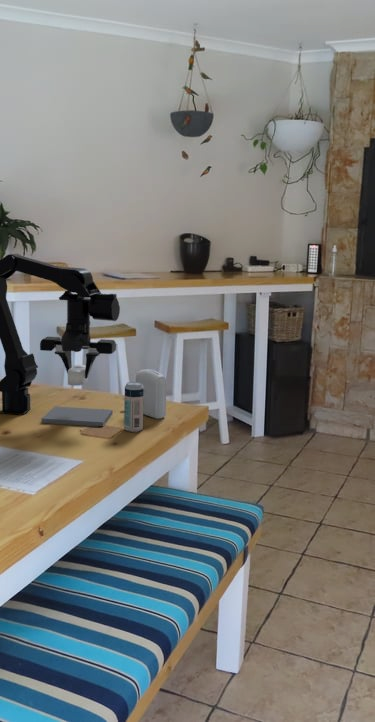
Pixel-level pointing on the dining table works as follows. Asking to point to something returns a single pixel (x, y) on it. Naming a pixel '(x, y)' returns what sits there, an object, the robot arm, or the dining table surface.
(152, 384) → the photo printer
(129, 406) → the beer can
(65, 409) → the slate board
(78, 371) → the grey rounded piece
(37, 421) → the dining table surface
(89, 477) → the dining table surface
